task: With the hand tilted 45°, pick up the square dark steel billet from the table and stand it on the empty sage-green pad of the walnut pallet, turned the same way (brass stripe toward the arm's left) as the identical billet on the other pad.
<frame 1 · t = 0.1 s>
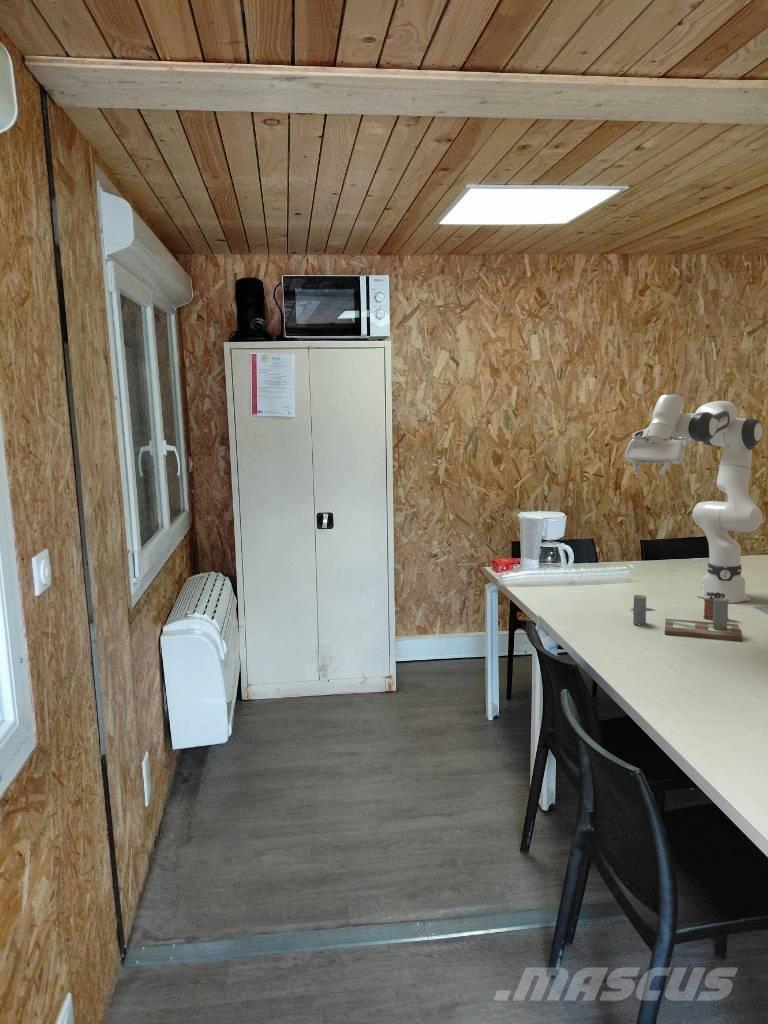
hand: (648, 473, 224), 54 cm above the table, tool tilted 30°, fingers open, 8 cm apart
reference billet: (719, 628, 223), resting on pallet
pallet: (701, 631, 225), on the table
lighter: (715, 619, 239), on the table
billet: (639, 623, 236), on the table
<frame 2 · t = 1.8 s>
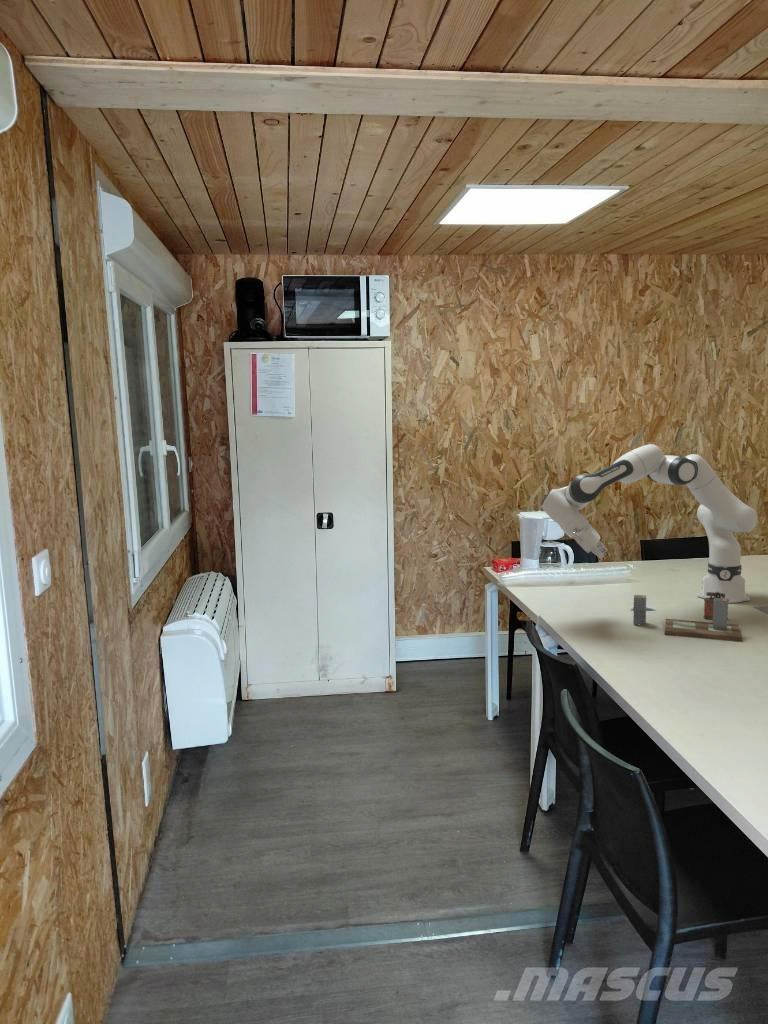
hand: (604, 554, 238), 25 cm above the table, tool tilted 45°, fingers open, 8 cm apart
nothing on the table moved.
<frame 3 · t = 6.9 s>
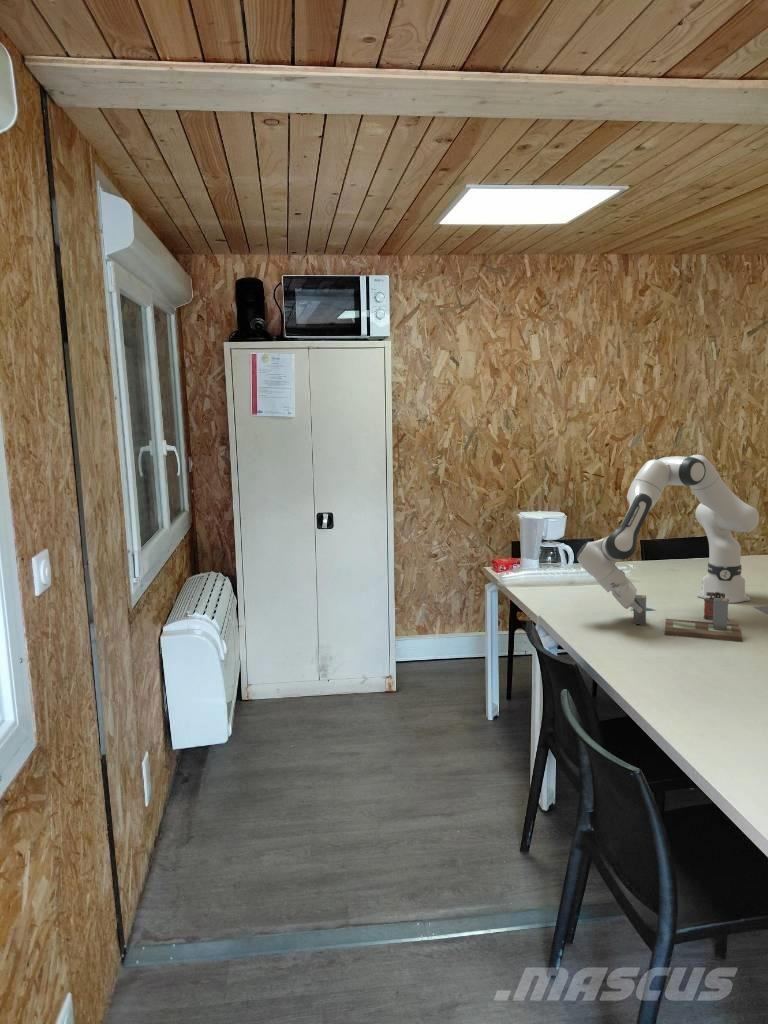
hand: (641, 609, 235), 5 cm above the table, tool tilted 45°, fingers closed on billet, 4 cm apart
billet: (639, 623, 236), on the table, touching gripper
everything else where it was.
when the fingers open (8 cm above the table, at t = 14.0 s): billet drops 1 cm, resting on pallet.
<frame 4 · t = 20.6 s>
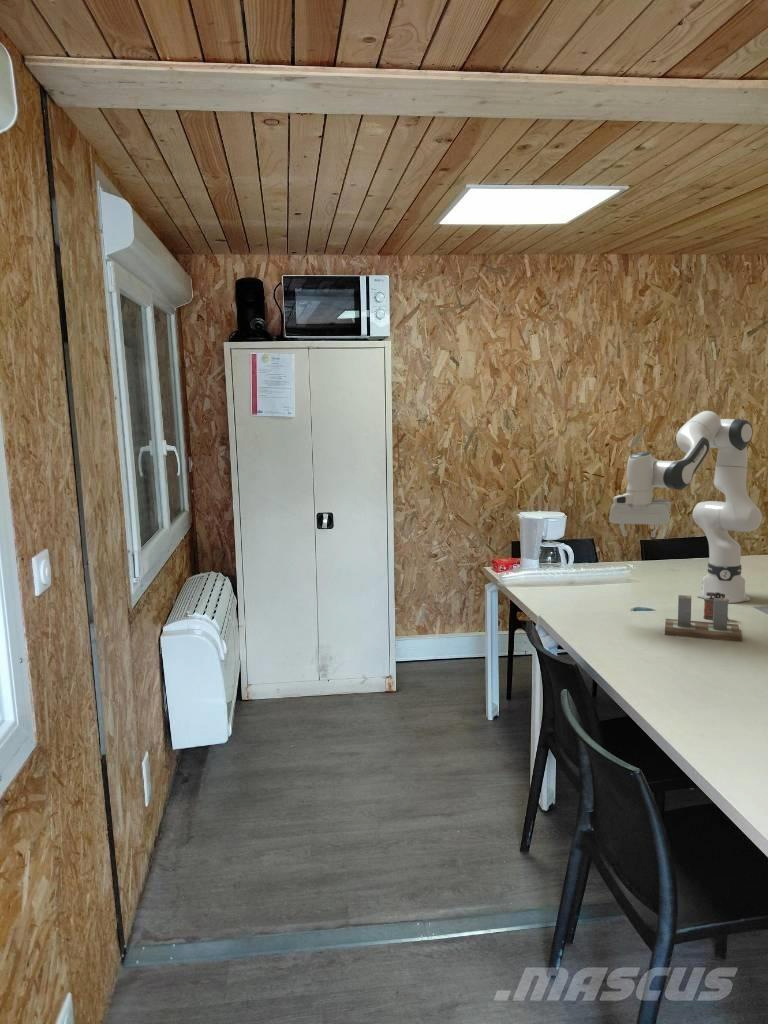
hand: (638, 536, 236), 31 cm above the table, tool pointing down, fingers open, 8 cm apart
billet: (684, 625, 228), point 2 cm above the table, touching pallet
everything else where it was.
at the end: billet 0.2 cm from the target spot on the pallet, point 1.7 cm above the pallet's base; billet tilted 0°; the gripper is holding nothing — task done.
